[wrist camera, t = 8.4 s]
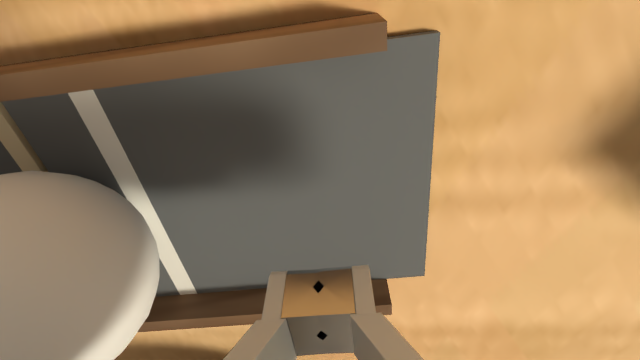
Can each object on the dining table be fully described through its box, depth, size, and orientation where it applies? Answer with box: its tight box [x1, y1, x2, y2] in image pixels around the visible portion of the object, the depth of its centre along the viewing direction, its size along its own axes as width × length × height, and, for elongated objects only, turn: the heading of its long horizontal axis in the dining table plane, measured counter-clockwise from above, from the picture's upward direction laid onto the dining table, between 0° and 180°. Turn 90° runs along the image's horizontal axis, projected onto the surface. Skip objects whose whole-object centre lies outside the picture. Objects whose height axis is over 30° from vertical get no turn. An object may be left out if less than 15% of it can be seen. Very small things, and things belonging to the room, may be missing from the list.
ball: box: [0, 170, 160, 360], centre depth 12 cm, size 8×8×8 cm
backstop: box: [0, 13, 392, 332], centre depth 13 cm, size 16×20×5 cm
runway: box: [0, 30, 440, 297], centre depth 15 cm, size 12×20×1 cm, turn 97°
